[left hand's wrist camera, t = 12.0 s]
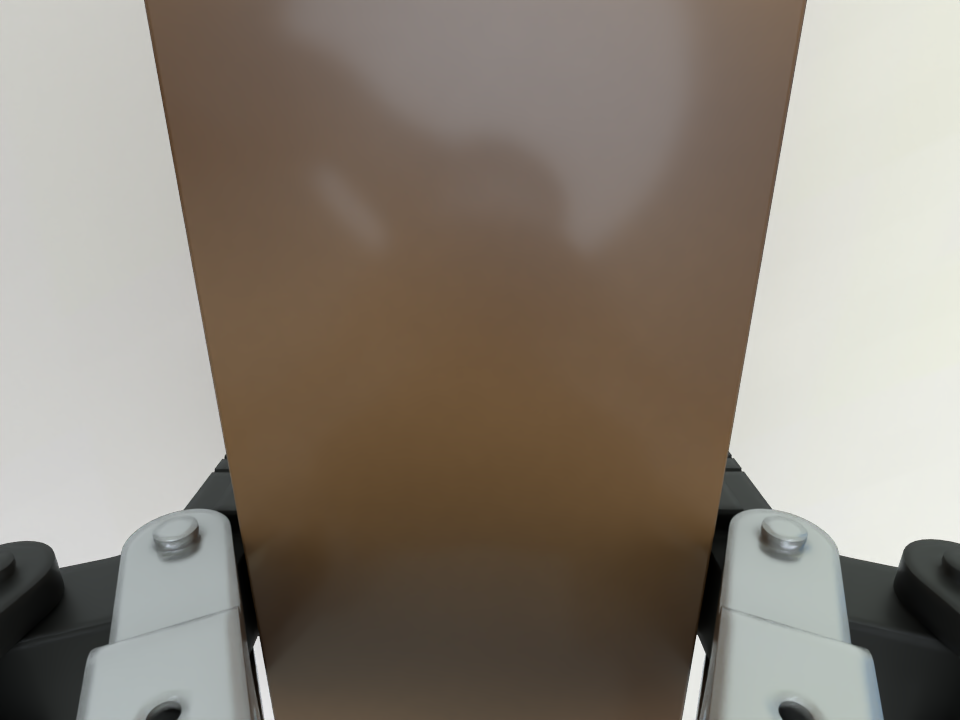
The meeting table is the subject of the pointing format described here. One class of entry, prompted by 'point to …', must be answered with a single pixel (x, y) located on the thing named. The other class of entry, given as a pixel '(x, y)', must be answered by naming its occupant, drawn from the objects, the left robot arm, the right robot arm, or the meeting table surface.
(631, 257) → the box
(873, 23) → the meeting table surface
